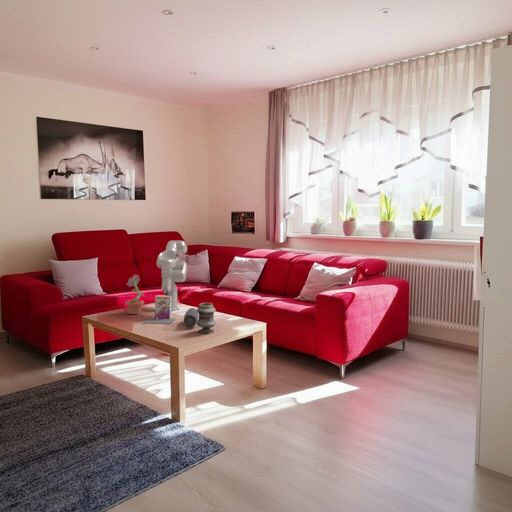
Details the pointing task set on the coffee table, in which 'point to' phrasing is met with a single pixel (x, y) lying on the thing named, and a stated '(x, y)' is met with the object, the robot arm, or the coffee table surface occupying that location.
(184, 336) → the coffee table surface
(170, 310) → the candy bar box
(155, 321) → the mat
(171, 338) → the coffee table surface
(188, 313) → the bluetooth speaker
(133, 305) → the decorative flower
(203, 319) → the apothecary jar
